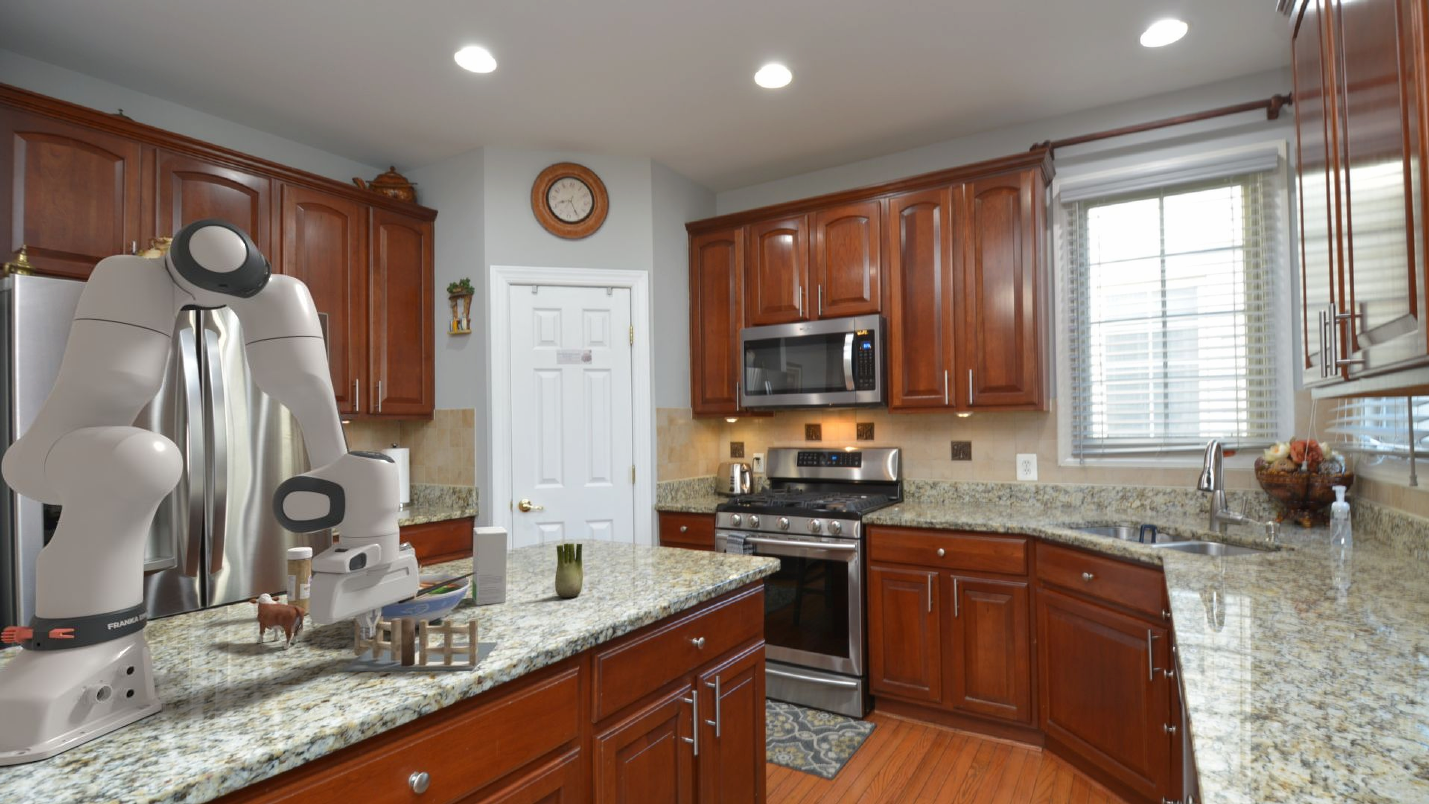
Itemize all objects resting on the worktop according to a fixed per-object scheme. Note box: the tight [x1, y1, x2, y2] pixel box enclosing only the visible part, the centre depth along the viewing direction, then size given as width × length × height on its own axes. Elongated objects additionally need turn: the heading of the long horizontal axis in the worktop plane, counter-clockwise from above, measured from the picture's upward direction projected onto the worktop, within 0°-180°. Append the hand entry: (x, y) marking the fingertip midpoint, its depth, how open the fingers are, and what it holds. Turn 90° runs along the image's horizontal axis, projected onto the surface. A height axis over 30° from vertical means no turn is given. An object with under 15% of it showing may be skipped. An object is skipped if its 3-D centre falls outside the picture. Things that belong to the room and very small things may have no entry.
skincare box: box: [471, 525, 508, 606], centre depth 156 cm, size 8×7×16 cm
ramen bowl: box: [381, 571, 475, 629], centre depth 138 cm, size 25×23×8 cm
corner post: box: [401, 618, 416, 666], centre depth 114 cm, size 2×2×8 cm
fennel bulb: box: [554, 543, 584, 599], centre depth 158 cm, size 6×5×12 cm
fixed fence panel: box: [418, 618, 479, 665], centre depth 114 cm, size 9×1×7 cm, turn 90°
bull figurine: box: [249, 593, 305, 650], centre depth 126 cm, size 4×13×8 cm, turn 59°
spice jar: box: [285, 546, 313, 616], centre depth 146 cm, size 5×5×14 cm
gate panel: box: [354, 616, 401, 661], centre depth 116 cm, size 9×1×6 cm, turn 69°
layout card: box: [338, 641, 498, 673], centre depth 118 cm, size 13×21×1 cm, turn 90°
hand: (368, 637), depth 114 cm, fingers closed
